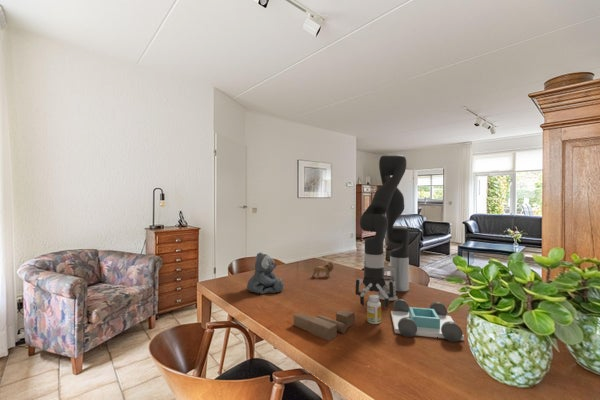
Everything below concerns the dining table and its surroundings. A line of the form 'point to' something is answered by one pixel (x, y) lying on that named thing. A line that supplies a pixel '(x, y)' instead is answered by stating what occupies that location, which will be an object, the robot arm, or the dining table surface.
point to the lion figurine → (324, 269)
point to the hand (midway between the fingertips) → (374, 306)
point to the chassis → (424, 321)
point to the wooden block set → (324, 324)
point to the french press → (387, 278)
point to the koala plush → (264, 276)
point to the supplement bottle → (374, 310)
